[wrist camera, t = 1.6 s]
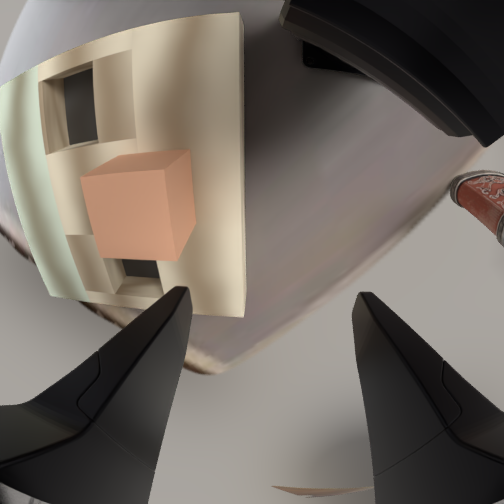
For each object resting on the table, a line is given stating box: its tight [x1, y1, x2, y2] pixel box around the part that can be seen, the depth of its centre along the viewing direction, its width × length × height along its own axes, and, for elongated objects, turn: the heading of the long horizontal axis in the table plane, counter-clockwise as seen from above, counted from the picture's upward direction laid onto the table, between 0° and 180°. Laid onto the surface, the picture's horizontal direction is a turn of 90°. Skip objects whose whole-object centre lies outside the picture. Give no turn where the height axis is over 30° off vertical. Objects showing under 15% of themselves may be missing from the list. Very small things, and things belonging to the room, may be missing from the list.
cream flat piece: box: [0, 12, 246, 317], centre depth 19 cm, size 21×22×3 cm
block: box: [80, 149, 196, 261], centre depth 15 cm, size 5×5×4 cm
